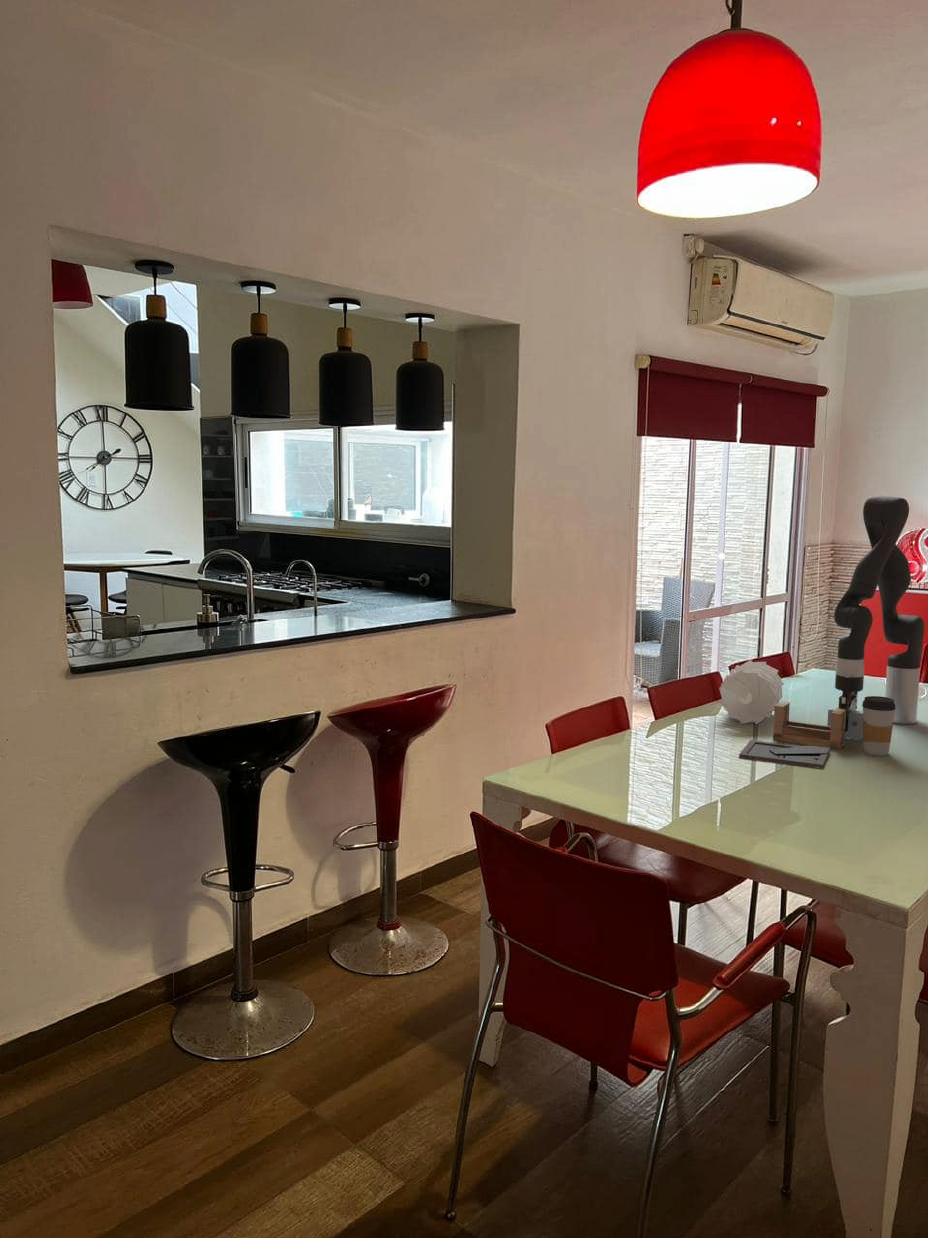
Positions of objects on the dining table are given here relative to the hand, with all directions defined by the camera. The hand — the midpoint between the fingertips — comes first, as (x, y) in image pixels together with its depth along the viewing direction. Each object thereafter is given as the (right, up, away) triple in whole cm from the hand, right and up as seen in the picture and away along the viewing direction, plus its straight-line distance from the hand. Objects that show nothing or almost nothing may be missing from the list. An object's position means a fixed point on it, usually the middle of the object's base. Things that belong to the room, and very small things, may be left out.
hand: (846, 728), depth 263 cm
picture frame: (-24, -6, -18) cm, 31 cm away
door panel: (0, -3, 0) cm, 3 cm away
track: (-13, -3, -4) cm, 14 cm away
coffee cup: (+2, -5, -15) cm, 16 cm away
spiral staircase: (-20, 0, +24) cm, 31 cm away
